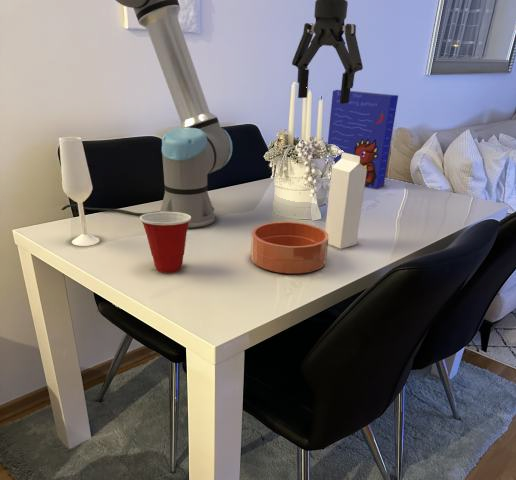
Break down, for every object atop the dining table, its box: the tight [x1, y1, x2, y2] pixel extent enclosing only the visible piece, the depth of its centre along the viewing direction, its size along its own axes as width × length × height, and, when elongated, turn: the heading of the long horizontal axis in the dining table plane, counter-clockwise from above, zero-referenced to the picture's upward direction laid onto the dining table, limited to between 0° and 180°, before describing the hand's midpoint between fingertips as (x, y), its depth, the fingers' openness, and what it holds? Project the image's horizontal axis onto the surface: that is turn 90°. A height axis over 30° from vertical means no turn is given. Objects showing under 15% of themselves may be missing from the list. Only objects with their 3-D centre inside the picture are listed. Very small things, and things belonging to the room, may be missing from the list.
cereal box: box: [327, 89, 399, 190], centre depth 180 cm, size 22×6×30 cm, turn 52°
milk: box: [324, 152, 367, 250], centre depth 125 cm, size 6×6×22 cm
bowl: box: [250, 221, 329, 275], centre depth 118 cm, size 18×18×6 cm
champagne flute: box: [58, 136, 100, 247], centre depth 119 cm, size 7×7×24 cm
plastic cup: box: [139, 211, 191, 274], centre depth 110 cm, size 11×11×12 cm
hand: (322, 100), depth 128 cm, fingers open, 13 cm apart
